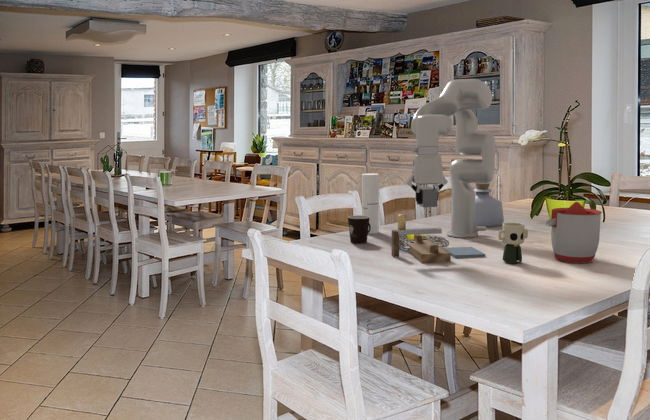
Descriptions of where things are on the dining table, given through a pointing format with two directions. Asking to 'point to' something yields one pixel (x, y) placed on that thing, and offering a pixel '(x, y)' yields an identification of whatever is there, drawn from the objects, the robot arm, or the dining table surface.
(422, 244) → the plane
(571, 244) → the citrus juicer
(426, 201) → the dark grey block
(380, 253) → the dining table surface
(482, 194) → the bottle
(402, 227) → the latch
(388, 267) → the dining table surface
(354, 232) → the coffee mug
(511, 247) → the character mug
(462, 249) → the mat
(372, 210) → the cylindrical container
